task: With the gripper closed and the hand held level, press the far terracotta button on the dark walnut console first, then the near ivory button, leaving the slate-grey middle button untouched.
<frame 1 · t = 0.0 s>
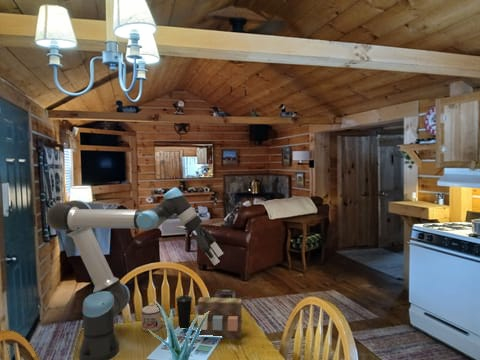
hand: (219, 259, 153), 36 cm above the table, tool tilted 35°, fingers open, 13 cm apart
terracotta button: (233, 320, 153), point 9 cm above the table, slide at 0.0 cm
coffee box: (225, 324, 170), on the table
slate button: (218, 320, 154), point 9 cm above the table, slide at 0.0 cm
ivory button: (204, 319, 154), point 9 cm above the table, slide at 0.0 cm
drinking cup: (184, 327, 167), on the table
teacup with lid: (154, 328, 167), on the table
button console: (219, 338, 156), on the table
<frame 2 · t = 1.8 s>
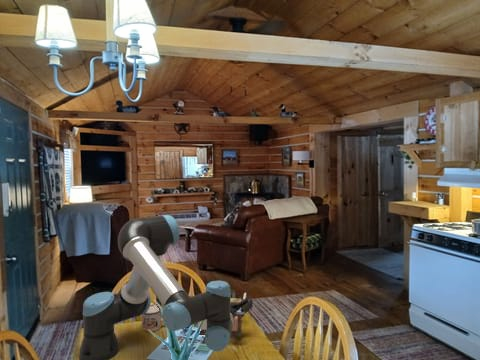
hand: (230, 295, 142), 24 cm above the table, tool horizontal, fingers open, 11 cm apart
nothing on the table moved.
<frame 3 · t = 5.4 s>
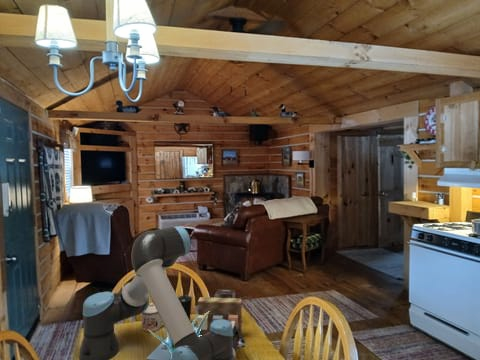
hand: (233, 324, 150), 9 cm above the table, tool horizontal, fingers closed
terracotta button: (233, 319, 155), point 9 cm above the table, slide at 1.3 cm, touching gripper
everything else where it was.
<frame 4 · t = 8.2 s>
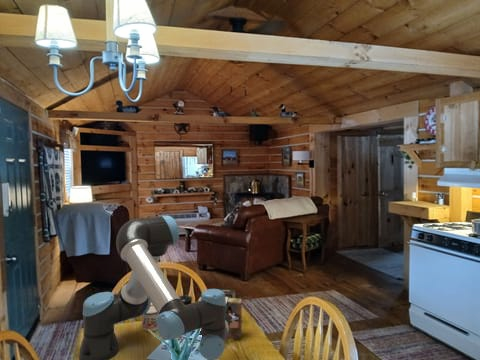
hand: (226, 300, 143), 22 cm above the table, tool horizontal, fingers closed
terracotta button: (234, 318, 156), point 9 cm above the table, slide at 2.8 cm
everything else where it was.
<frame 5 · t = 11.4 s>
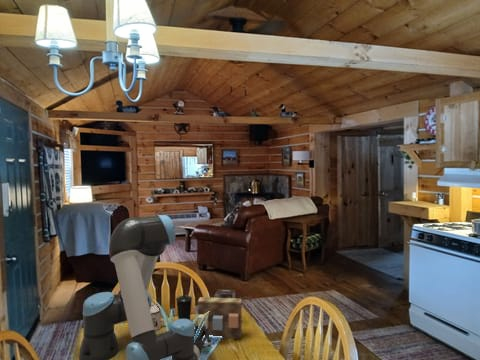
hand: (203, 323, 151), 9 cm above the table, tool horizontal, fingers closed
ivory button: (204, 319, 155), point 9 cm above the table, slide at 0.7 cm, touching gripper
everything else where it was.
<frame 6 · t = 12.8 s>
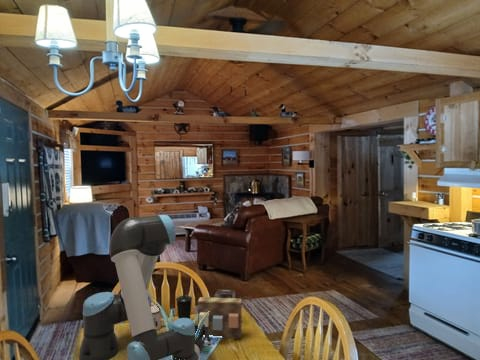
hand: (202, 322, 151), 9 cm above the table, tool horizontal, fingers closed
ivory button: (205, 317, 157), point 9 cm above the table, slide at 2.8 cm
everything else where it was.
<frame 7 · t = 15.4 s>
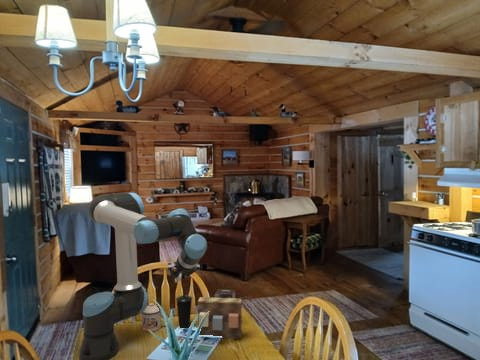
hand: (176, 279, 151), 28 cm above the table, tool tilted 55°, fingers closed
nothing on the table moved.
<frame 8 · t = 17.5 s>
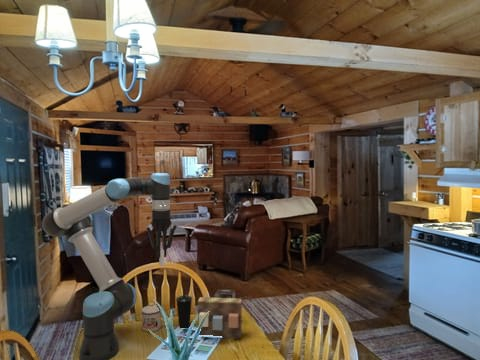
hand: (161, 264, 150), 34 cm above the table, tool pointing down, fingers closed
nothing on the table moved.
at the end: terracotta button slide at 2.8 cm; ivory button slide at 2.8 cm; slate button slide at 0.0 cm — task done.
